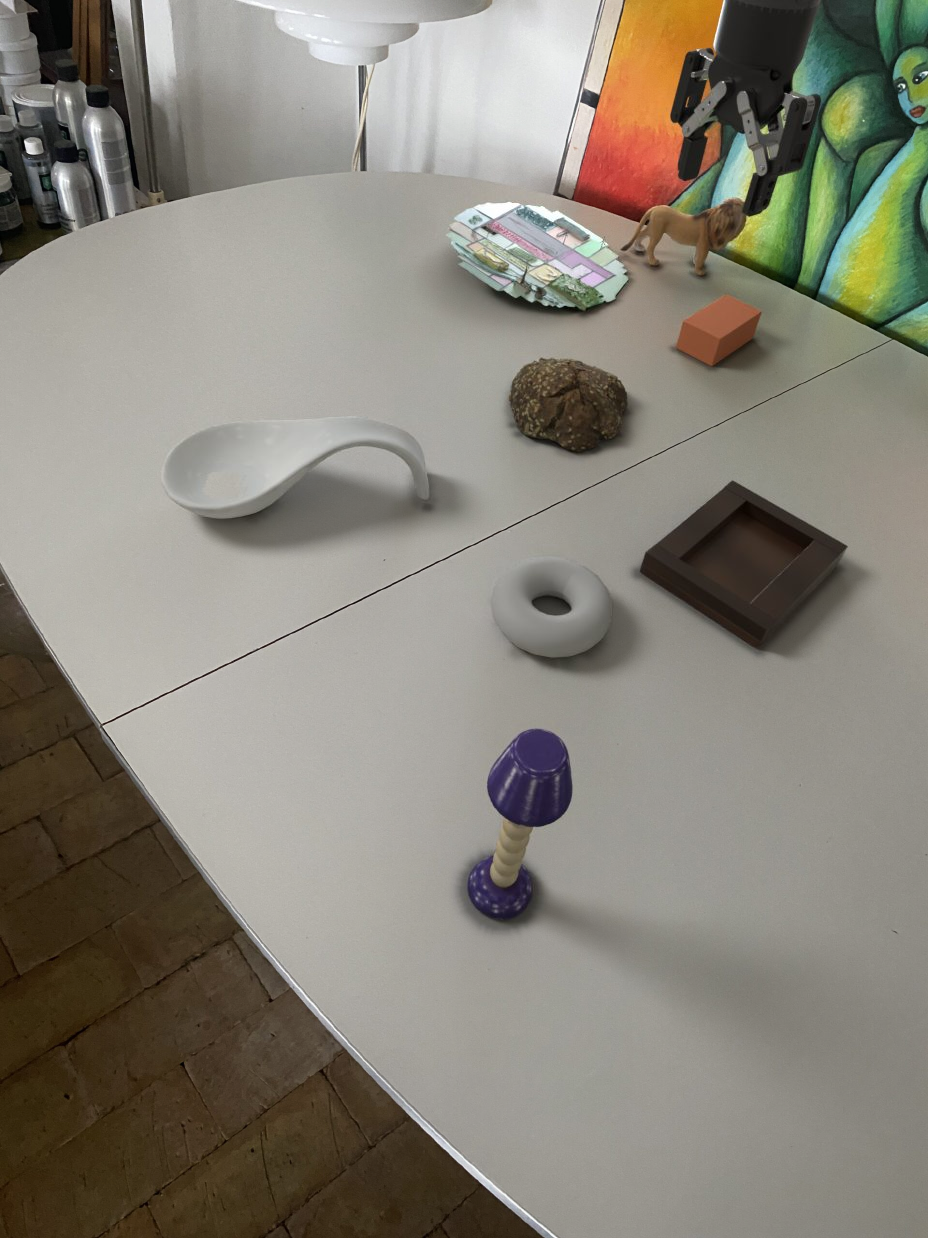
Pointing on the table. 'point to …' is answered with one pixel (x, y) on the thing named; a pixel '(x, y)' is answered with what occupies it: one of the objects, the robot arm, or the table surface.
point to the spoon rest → (274, 458)
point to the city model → (536, 255)
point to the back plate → (743, 562)
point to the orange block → (718, 329)
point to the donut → (547, 630)
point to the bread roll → (567, 403)
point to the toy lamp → (520, 817)
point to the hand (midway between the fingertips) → (718, 195)
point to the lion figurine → (691, 229)
